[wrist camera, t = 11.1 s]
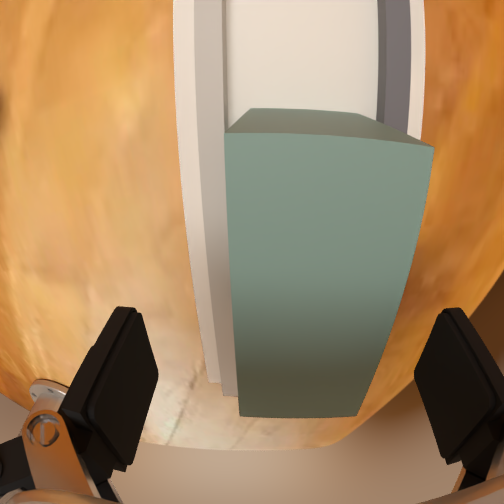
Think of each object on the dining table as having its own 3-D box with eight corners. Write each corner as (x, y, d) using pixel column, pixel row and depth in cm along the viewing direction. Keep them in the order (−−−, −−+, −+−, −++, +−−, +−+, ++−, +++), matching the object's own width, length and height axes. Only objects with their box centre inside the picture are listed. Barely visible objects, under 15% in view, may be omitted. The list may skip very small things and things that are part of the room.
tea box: (358, 113, 13) (435, 147, 6) (335, 302, 19) (357, 415, 12) (250, 108, 14) (223, 132, 7) (252, 301, 19) (239, 416, 12)
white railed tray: (356, 366, 25) (362, 396, 22) (212, 363, 25) (206, 394, 23) (406, -20, 11) (430, -36, 8) (184, -32, 11) (166, -51, 9)
